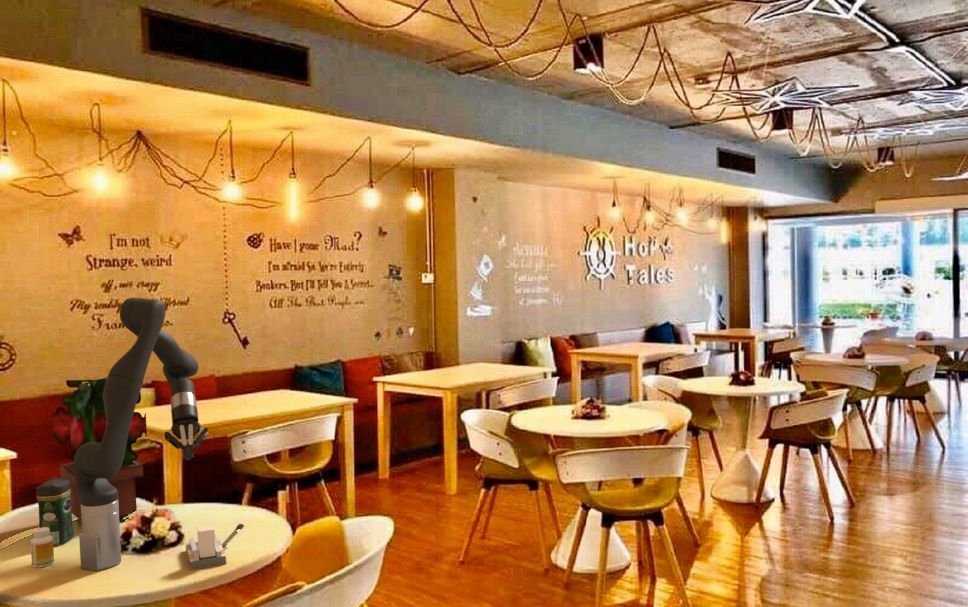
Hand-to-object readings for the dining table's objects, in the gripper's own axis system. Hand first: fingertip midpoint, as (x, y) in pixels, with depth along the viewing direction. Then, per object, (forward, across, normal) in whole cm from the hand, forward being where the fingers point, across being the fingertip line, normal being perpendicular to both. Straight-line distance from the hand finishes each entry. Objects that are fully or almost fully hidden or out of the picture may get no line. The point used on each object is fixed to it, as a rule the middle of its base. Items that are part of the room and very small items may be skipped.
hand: (188, 458), depth 239 cm
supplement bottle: (+20, -39, +14) cm, 46 cm away
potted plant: (-6, -25, +41) cm, 48 cm away
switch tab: (+32, +2, -2) cm, 32 cm away
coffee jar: (+6, -37, +28) cm, 47 cm away
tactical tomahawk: (+22, +11, +13) cm, 28 cm away
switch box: (+30, +2, +3) cm, 30 cm away
